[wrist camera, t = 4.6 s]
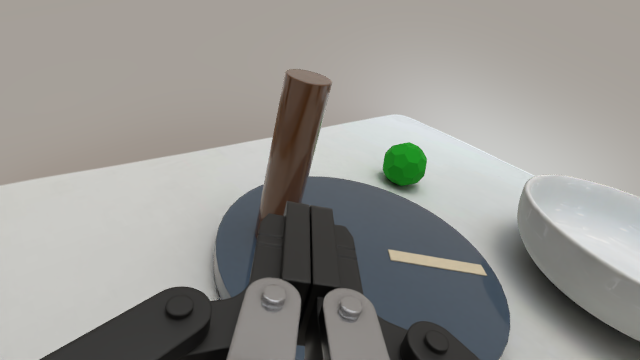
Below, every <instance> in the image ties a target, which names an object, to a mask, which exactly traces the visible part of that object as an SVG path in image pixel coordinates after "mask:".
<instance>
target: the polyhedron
mask: <svg viewBox="0 0 640 360" xmlns="http://www.w3.org/2000/svg"><path fill="white" fill-rule="evenodd" d="M426 162H427V158H426V156H425V155H424V153H423V151H422V150H421V149H420V148H419V147H418V146H416V145H414V144H412V143H403V144H399V145H394V146H392V147H391V148H390V149H389V150H388V151H387V152H386V154H385V158H384V164H383V171H384V173H385V175H386V177H387V178H388V179H389V180H390V181H391V182H393V183H395V184H397V185H399V186H403V185H409V184H414V183H417V182H418V181H419V180H420V179H421V178H422V177H423V176H424V173H425V169H426Z"/></svg>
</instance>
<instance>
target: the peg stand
mask: <svg viewBox="0 0 640 360" xmlns="http://www.w3.org/2000/svg"><path fill="white" fill-rule="evenodd" d="M331 85H332V81H331V80H330V79H328V78H327V77H325V76H323V75H320V74H318V73H315V72H311V71H306V70H301V69H289V70H287V71H286V72H285V77H284V82H283V87H282V92H281V98H280V103H279V108H278V113H277V118H276V124H275V129H274V135H273V139H272V144H271V150H270V155H269V160H268V165H267V170H266V176H265V181H264V185H261V186H259V187H257V188H255V189H253V190H251V191H249V192H247V193H246V194H244V195H243V196H242V197H240V198H239V199H238V200H237V201H236V202H235V203H234V204H233V205H232V206H231V207H230V208H229V210H228V211H227V212H226V214H225V215H224V217H223V219H222V221H221V223H220V225H219V228H218V232H217V237H216V242H215V249H214V275H215V281H216V286H217V289H218V291H219V294H220V297H221V300H223V299H228V298H231V297H234V296H236V295H238V294H239V293H241V292H242V291H243V290H245V288H246V287H247V286H248V284H249V280H250V275H251V269H252V263H253V258H254V253H255V247H256V242H257V237H258V232H259V227H260V222H261V221H262V220H263V219H264V218H265V217H266V216H267V214H268V213H270V214H276V215H282V216H283V215H284V211H285V206H286V203H287V201H291V202H296V203H302V204H308V205H309V206H310V205H314V206H319V207H325V208H331V209H332V210H333V217H334V224H335V225H341V226H346V228H347V229H348V231H349V232H350V233H351V235H352V236H353V239H354V244H355V251H356V255H357V261H358V266H359V272H360V278H361V283H362V289H363V294H364V296H365V297H367V298H368V299H369V300H370V302H371V303H372V304H373V306H374V308H375V310H376V314H377V315H378V316H379V317H381V318H382V319H384V320H386V321H388V322H390V323H392V324H395V325H397V326H399V327H402V328H404V329H407V330H408V329H409V328H410V326H411V325H412V324H414V323H415V322H419V321H428V322H432V323H435V324H438V325H440V326H442V327H443V328H445V329H446V330H447V331H449V332H450V333H451V334H452V335H453V336H454V337H456V338H457V339H458V340H459V341H460V342H461V343H462V344H463V345H465V346H466V347H467V348H468V349H469V350H470V351H471V352H472V353H474V354H475V355H476V356H477V357H478V358H479V359H480V360H499V359H500V357H501V356H502V354H503V352H504V349H505V347H506V345H507V342H508V337H509V331H510V313H509V308H508V304H507V299H506V297H505V294H504V291H503V289H502V286H501V284H500V282H499V280H498V279H497V277H496V275H495V273H494V272H493V270H492V269H491V267H490V266H489V264H488V263H487V261H486V260H485V259H484V258H483V257H482V255H481V254H480V253H479V252H478V251H477V249H476V248H475V247H474V246H473V245H472V244H471V243H470V242H469V241H468V240H467V239H466V238H465V237H463V236H462V235H461V234H460V233H459V232H458V231H456V230H455V229H454V228H453V227H451V226H450V225H449V224H447V223H446V222H445V221H443V220H442V219H441V218H439V217H438V216H436V215H434V214H433V213H431V212H430V211H428V210H426V209H425V208H423V207H421V206H419V205H418V204H416V203H414V202H412V201H409V200H407V199H405V198H403V197H401V196H399V195H396V194H394V193H391V192H389V191H386V190H383V189H380V188H378V187H374V186H371V185H367V184H364V183H360V182H355V181H351V180H345V179H339V178H330V177H310V176H309V172H310V168H311V164H312V160H313V156H314V152H315V148H316V144H317V140H318V136H319V132H320V128H321V124H322V121H323V117H324V113H325V109H326V105H327V101H328V97H329V93H330V89H331ZM308 176H309V177H308ZM304 358H305V346H300V345H297V346H296V355H295V360H304Z"/></svg>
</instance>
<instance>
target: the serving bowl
mask: <svg viewBox="0 0 640 360" xmlns="http://www.w3.org/2000/svg"><path fill="white" fill-rule="evenodd" d="M517 219H518V228H519V232H520V235H521V238H522V241H523V243H524V246H525V247H526V249H527V251H528V253H529V255H530V256H531V258H532V259H533V261H534V262H535V263H536V265H537V266H538V267H539V269H540V270H541V271H542V272H543V273H544V274H545V275H546V277H547V278H548V279H549V280H550V281H551V282H552V283H553V284H554V285H555V286H556V287H558V288H559V289H560V290H561V291H562V292H563V293H564V294H565V295H567V296H568V297H569V298H570V299H571V300H573V301H574V302H575V303H577V304H578V305H579V306H581V307H582V308H583V309H585V310H586V311H587V312H589V313H590V314H592V315H593V316H595V317H596V318H598V319H600V320H601V321H603V322H604V323H606V324H608V325H609V326H611V327H613V328H615V329H616V330H618V331H620V332H622V333H624V334H626V335H628V336H629V337H631V338H633V339H636V340H638V341H640V197H638V196H635V195H632V194H630V193H627V192H624V191H621V190H618V189H615V188H612V187H609V186H605V185H603V184H599V183H595V182H592V181H588V180H584V179H580V178H575V177H569V176H562V175H539V176H535V177H532V178H531V179H529V180H528V181H527V182H526V184H525V186H524V189H523V191H522V194H521V197H520V201H519V205H518V213H517Z"/></svg>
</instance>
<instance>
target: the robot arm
mask: <svg viewBox="0 0 640 360" xmlns="http://www.w3.org/2000/svg"><path fill="white" fill-rule="evenodd" d="M297 345H300V346H305V358H304V360H480V359H479V358H478V357H477V356H476V355H475V354H474V353H472V352H471V351H470V350H469V349H468V348H467V347H466V346H465V345H463V344H462V343H461V342H460V341H459V340H458V339H457V338H456V337H454V336H453V335H452V334H451V333H450V332H449V331H447V330H446V329H445V328H443V327H442V326H440V325H438V324H435V323H432V322H428V321H419V322H415V323H414V324H412V325H411V326H410V328H409V329H408V330H407V329H404V328H402V327H399V326H397V325H395V324H392V323H390V322H388V321H386V320H384V319H382V318H381V317H379V316H378V315H377V314H376V310H375V308H374V306H373V304H372V303H371V302H370V300H369V299H368V298H367V297H365V296H364V294H363V289H362V283H361V278H360V272H359V266H358V261H357V255H356V251H355V244H354V239H353V236H352V235H351V233H350V232H349V231H348V229H347V228H346V226H341V225H335V224H334V217H333V210H332V209H331V208H325V207H319V206H314V205H310V206H309V205H308V204H302V203H296V202H291V201H287V203H286V206H285V211H284V215H283V216H282V215H276V214H270V213H268V214H267V216H266V217H265V218H264V219H263V220H262V221H261V222H260V227H259V232H258V237H257V242H256V247H255V253H254V258H253V263H252V269H251V275H250V280H249V284H248V286H247V287H246V288H245V290H243V291H242V292H241V293H239V294H238V295H236V296H234V297H231V298H228V299H223V300H216V301H210V300H209V299H208V297H207V296H206V295H205V294H204V293H202V292H201V291H199V290H197V289H194V288H190V287H174V288H169V289H166V290H164V291H162V292H160V293H158V294H156V295H154V296H153V297H151V298H149V299H147V300H145V301H144V302H142V303H140V304H138V305H136V306H135V307H133V308H131V309H129V310H127V311H126V312H124V313H122V314H120V315H119V316H117V317H115V318H113V319H111V320H110V321H108V322H106V323H104V324H102V325H101V326H99V327H97V328H95V329H93V330H92V331H90V332H88V333H86V334H84V335H83V336H81V337H79V338H77V339H76V340H74V341H72V342H70V343H68V344H67V345H65V346H63V347H61V348H59V349H58V350H56V351H54V352H52V353H50V354H49V355H47V356H45V357H43V358H42V359H40V360H295V355H296V346H297Z"/></svg>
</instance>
